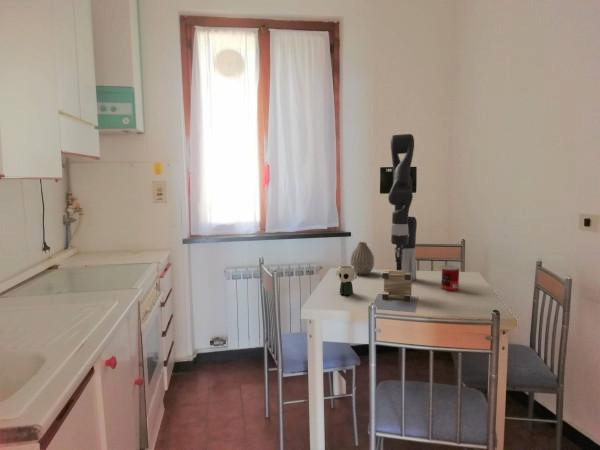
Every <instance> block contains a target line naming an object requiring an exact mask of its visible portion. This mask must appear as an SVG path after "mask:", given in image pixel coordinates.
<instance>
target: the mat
mask: <svg viewBox="0 0 600 450" xmlns="http://www.w3.org/2000/svg"><path fill="white" fill-rule="evenodd" d="M382 294H383V293H377V295H376V297H375V299H374V301H373V303H374V304H375V305H376V307H377V309H376V310H382V311H395V312H403V313H405V312H406V313H416V311H417V306H418V300H419V296H417V295H415V296H414V295H411V300H410V302H406V301H404V299H398V298H389V299H388V300H382Z"/></svg>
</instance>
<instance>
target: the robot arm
mask: <svg viewBox="0 0 600 450" xmlns="http://www.w3.org/2000/svg"><path fill="white" fill-rule="evenodd" d="M414 150H415V138H414V135H413V134H411V133H405V134H404V133H403V134H402V133H401V134H393V135H392V136H391V138H390V152H391V153H390V154H391V162H392V186H391V188H390V191H389V194H388V203H389V204H390V205H392V206H394V210H393V212H392V213H391V214H392V215H391V216H392V217H391V220H392V221H391V229H390V231H391V232H390V233H391V238H390V239H391V240H390V243H391V244H392V245H395V248H394V257H395V263H396V269H395V270H400V271H412V282H414V281H415V280H417V261H416V244H417V243H416V242H417V241H416V239H417V237H416V236H417V227H418V223H417V218H416V217H415V216H409V212H410V207H411V205H412V201H413V198H414V197H413V196H414V195H413V179H412V176H411V175H410V173H411V166H412V162H413V156H414ZM402 154H403V155H404V154H405V155H404V157H403V159H401V160H400V156H399V155H402Z"/></svg>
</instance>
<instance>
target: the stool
mask: <svg viewBox="0 0 600 450" xmlns="http://www.w3.org/2000/svg"><path fill="white" fill-rule="evenodd" d="M382 279H383V292H382V293H381V294H382V300H388V299H389V298H398V299H404V301H406V302H410V300H411V296H412V285H413V281H412V271H400V270H396V269H383V272H382Z"/></svg>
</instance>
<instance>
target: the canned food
mask: <svg viewBox="0 0 600 450" xmlns="http://www.w3.org/2000/svg"><path fill="white" fill-rule="evenodd" d="M459 276H460V267H459V266H458V265H452V264H450V265H449V264H448V265H443V266H442V267H441V289H442V290H443V291H446V292H457V291H458V290H459V283H460V281H459V280H460V277H459Z"/></svg>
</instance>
